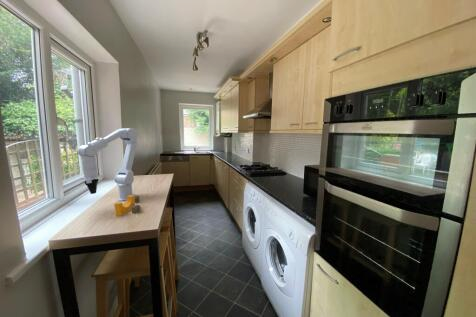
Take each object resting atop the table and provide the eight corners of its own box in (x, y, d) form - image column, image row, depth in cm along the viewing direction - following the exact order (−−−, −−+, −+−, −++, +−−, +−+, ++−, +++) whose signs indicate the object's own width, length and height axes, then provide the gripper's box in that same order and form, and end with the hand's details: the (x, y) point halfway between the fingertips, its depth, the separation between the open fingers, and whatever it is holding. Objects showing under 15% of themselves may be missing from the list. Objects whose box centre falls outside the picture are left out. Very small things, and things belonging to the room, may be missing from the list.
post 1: (131, 201, 113) (131, 196, 113) (139, 200, 115) (138, 195, 115) (131, 203, 110) (131, 198, 110) (139, 202, 112) (139, 197, 111)
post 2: (131, 211, 100) (131, 205, 99) (140, 209, 101) (139, 204, 101) (131, 213, 96) (131, 208, 96) (140, 212, 98) (140, 206, 98)
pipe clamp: (127, 206, 106) (126, 195, 106) (135, 206, 106) (133, 195, 105) (112, 216, 95) (110, 203, 94) (120, 216, 94) (119, 203, 93)
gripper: (83, 166, 103) (86, 190, 105) (76, 171, 90) (80, 198, 92) (99, 165, 106) (102, 188, 108) (94, 169, 94) (98, 196, 96)
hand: (93, 193), depth 100 cm, fingers closed
